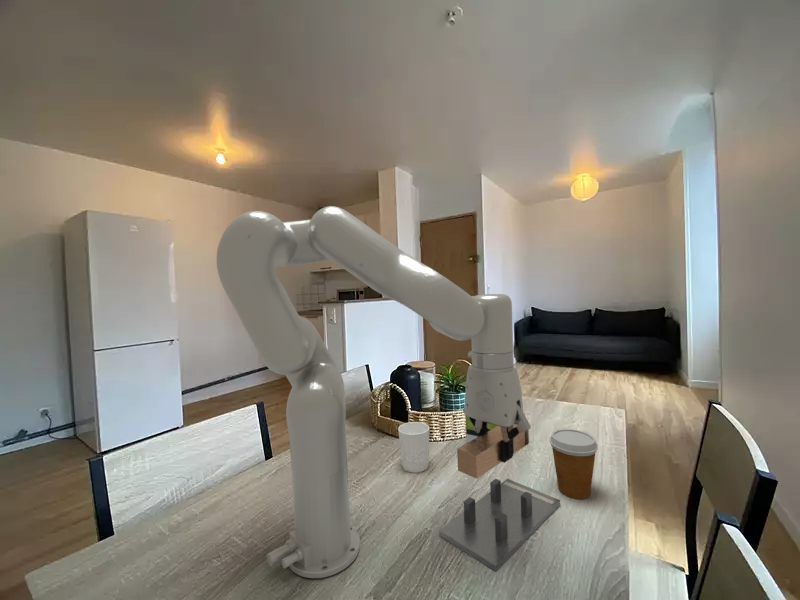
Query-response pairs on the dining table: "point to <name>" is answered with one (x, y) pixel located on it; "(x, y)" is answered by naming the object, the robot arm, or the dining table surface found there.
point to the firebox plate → (499, 521)
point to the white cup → (414, 446)
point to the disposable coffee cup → (574, 461)
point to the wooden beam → (486, 451)
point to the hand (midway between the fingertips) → (495, 454)
